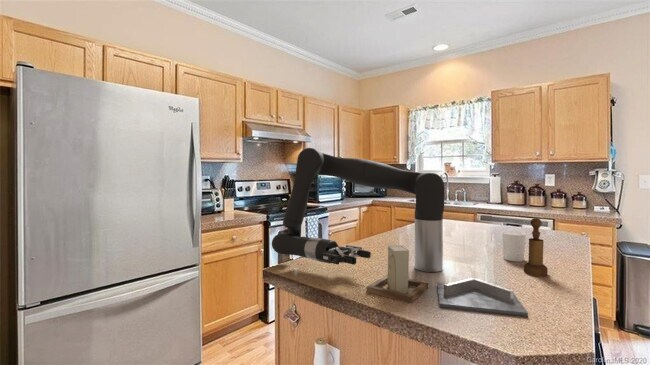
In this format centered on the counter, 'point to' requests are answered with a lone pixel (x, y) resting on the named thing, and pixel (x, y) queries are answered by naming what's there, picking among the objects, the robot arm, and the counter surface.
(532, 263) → the mortar and pestle
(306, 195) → the robot arm
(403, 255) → the skincare box
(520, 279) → the counter surface
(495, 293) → the grey corner stand
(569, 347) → the counter surface
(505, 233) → the white cup
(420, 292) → the square wooden frame
